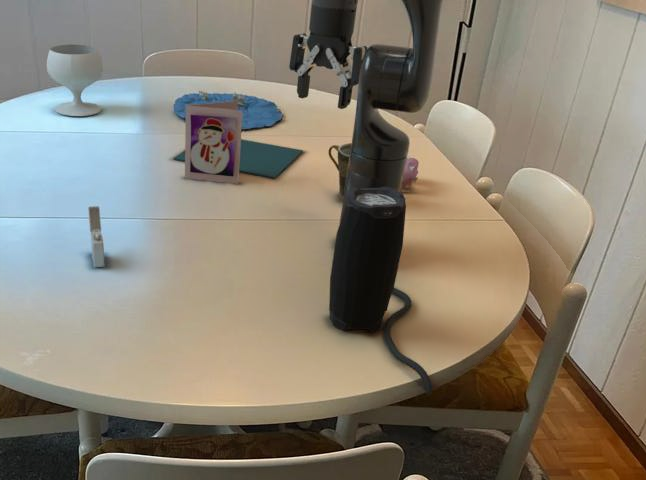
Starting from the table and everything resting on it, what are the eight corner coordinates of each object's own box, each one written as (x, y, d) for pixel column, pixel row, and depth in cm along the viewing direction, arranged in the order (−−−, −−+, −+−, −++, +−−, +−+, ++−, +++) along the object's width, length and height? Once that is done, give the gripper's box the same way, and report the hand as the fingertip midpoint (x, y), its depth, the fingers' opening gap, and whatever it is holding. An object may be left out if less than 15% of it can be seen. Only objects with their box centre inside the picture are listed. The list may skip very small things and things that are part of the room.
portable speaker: (312, 317, 106) (329, 192, 95) (355, 299, 111) (375, 178, 100) (356, 343, 101) (378, 213, 89) (398, 323, 106) (425, 198, 94)
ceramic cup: (390, 200, 145) (399, 151, 139) (362, 213, 139) (370, 163, 133) (338, 182, 152) (344, 135, 147) (309, 194, 146) (315, 145, 140)
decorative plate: (303, 116, 196) (306, 96, 193) (247, 141, 174) (249, 120, 171) (213, 92, 208) (215, 73, 205) (150, 113, 186) (151, 92, 183)
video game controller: (402, 201, 149) (424, 173, 145) (384, 189, 149) (405, 161, 145) (402, 184, 157) (422, 158, 153) (385, 173, 157) (405, 146, 153)
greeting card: (183, 179, 149) (184, 106, 141) (191, 167, 156) (192, 96, 147) (237, 185, 148) (241, 111, 140) (242, 173, 154) (247, 101, 146)
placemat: (274, 179, 152) (274, 177, 152) (173, 159, 159) (173, 157, 159) (303, 152, 167) (303, 150, 167) (209, 135, 175) (209, 133, 174)
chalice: (100, 119, 181) (97, 57, 172) (45, 117, 181) (39, 54, 172) (108, 104, 192) (106, 45, 184) (56, 102, 192) (51, 42, 184)
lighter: (104, 266, 116) (102, 221, 112) (94, 267, 116) (91, 221, 111) (101, 247, 122) (98, 203, 117) (90, 248, 121) (87, 203, 117)
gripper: (286, -2, 120) (278, 98, 129) (359, 11, 112) (344, 115, 122) (312, -6, 124) (302, 90, 134) (383, 6, 117) (367, 107, 126)
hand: (322, 102), depth 128 cm, fingers open, 8 cm apart
